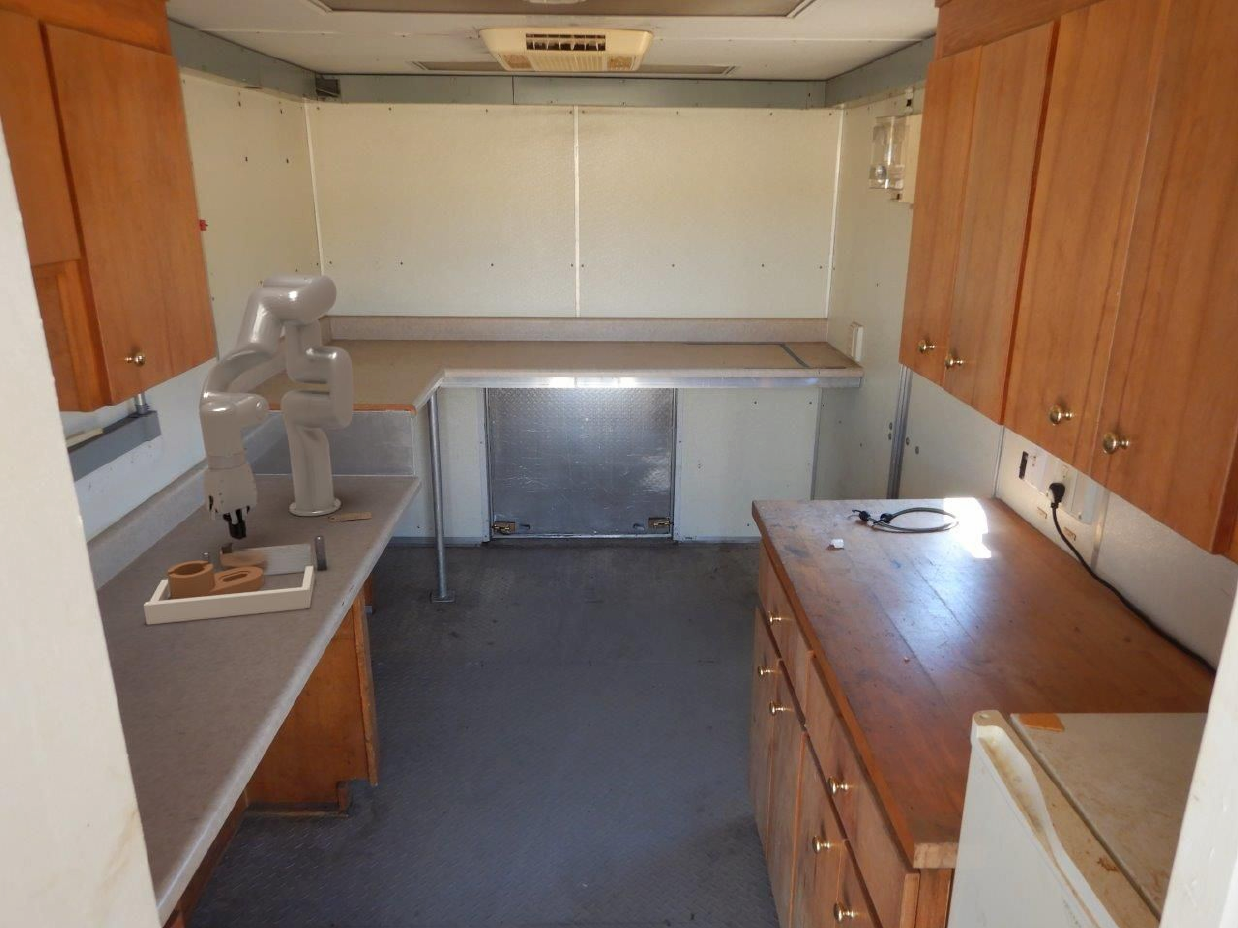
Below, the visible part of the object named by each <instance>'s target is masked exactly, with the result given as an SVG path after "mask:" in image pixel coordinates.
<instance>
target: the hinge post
mask: <svg viewBox="0 0 1238 928" xmlns="http://www.w3.org/2000/svg"><path fill="white" fill-rule="evenodd" d="M313 541H314V547H315V548H314V550H315V557H316V558H315V559H316V568H317V571H320V572H324V571H326V570H327V569H328V564H327V554H326V543H325V536H324V535H320V534H319V535H316V536H314V537H313Z"/></svg>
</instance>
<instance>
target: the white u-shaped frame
mask: <svg viewBox="0 0 1238 928" xmlns="http://www.w3.org/2000/svg"><path fill="white" fill-rule="evenodd" d="M315 579H316V578H315V569H314V565H313V566H308V567H306V569H305V572H304V575H303V580H302V585H301V586H300V587H289V588H288V587H287V588H280V589H268V590H258V591H257V590H256V591H253V592H246V593H236V594H226V595H215V596H205V597H195V598H185V599H174V600H171V599H169V598H171V595H170V589H169V583H168V578H167V579H162V580H160V581H159V582H160V583H159V584H158V585H157V587H156V590H155V591H154V593H153V595H152V597H151V598H150V600H149V601H146V602H145V603H144V604H143V609H144V614H145V620H146V625H157V624H158V625H159V624H167V623H177V622H188V621H197V620H205V619H207V620H208V619H216V618H224V617H235V616H245V615H246V616H247V615H253V614H262V613H274V612H284V611H295V610H301V609H302V610H303V609H310V607H311V604H312V603H311V602H312V597H313V591H314V585H315Z"/></svg>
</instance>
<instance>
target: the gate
mask: <svg viewBox="0 0 1238 928" xmlns="http://www.w3.org/2000/svg"><path fill="white" fill-rule="evenodd" d="M220 547H221V549H220V550H221V551H220V553H219V555H220V563H221V572H223V571H227V570H230V569H234V568H238V567H245V566H253V567H258V568H261V569H262V570H263V575H264V577H265V576H273V575H274V576H275V575H284V574H295V573H305V569H306V567H308V566H313V567H314V565H313V556H312V549H311V543H300V544H290V545H288V544H287V545H278V546H266V547H265V546H264V547H256V548H243V549H235V547H234V542H225V543H224V542H223V543H222V544H221V546H220Z"/></svg>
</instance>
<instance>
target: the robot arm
mask: <svg viewBox="0 0 1238 928" xmlns="http://www.w3.org/2000/svg"><path fill="white" fill-rule="evenodd" d="M336 300H337V288H336V284H335V282H334V281H333V280H332V279H331V278H330V277H329V276H326V275H325V274H324V275H322V274H303V273H299V274H298V273H276V274H272V275H269V276H267V277H265V278H264V280H263V282H262V287H260V288H257V289H254V290H253V291H252V292H251V293H250V295H249V296H248V299H247V301H246V302H247V303H246V307H245V310H244V313H243V317H242V320H241V325H240V329H239V332H238V336H237V339H236V343H235V345H234V347H233V348H231V350H229V351H228V352H226V353H225V354H224V355H223V356H222V357H221V358H220V359H219V360H218V361H217V362H216V363H215V365H213V367H212V368H210V370H209V372H208V374H207V375H206V378H205V379H204V383H203V387H202V390H201V393H200V398H199V404H198V405H199V406H198V408H199V409H198V410H199V413H198V414H199V419H200V426H201V433H202V437H203V445H204V451H205V456H206V463H207V468H206V467H205V469H204V474H203V490H204V491H203V492H204V502H205V508H206V510H207V511H208V512H211V516H210V517H211V520H212V521H225V522H227V524H228V530H229V534H230V537H231V538H233V539H236V540H239V541H240V540H243V539H245V538H247V536H248V535H247V527H246V520H247V519H248V514H249V512H250V510H251V509H253V508H254V507H256V506H257V504H258V503H257V500H258V491H257V486H256V485H257V484H256V481H255V476H254V474H253V470H252V468H251V465H250V463H249V461H248V460H246V458H247V456H246V455H247V454H249V449H248V448H247V447H245V446H244V442H243V441H244V440H243V434H242V432H243V431H247V430H251V429H254V428H258V427H260V426H261V425H263V424H264V423H265V422H266V421H267V420H268V417H269V415H270V405H269V402H268V400H267V399H266V398H265V397H263V396H262V395H260V394H257V393H256V394H255V393H248V392H230V391H228V390H229V389H230V386H231V384H232V383H233V382H234V381H235V380H236V379H237V378H239V377H240V376H241V375H243V374H245V373H247V372H250V371H251V370H254V369H257V368H259V367H261V366H264V365H266V364H268V363H269V362H271V361H273V360H274V359H275V358H276V355H277V351H278V347H279V343H280V339H281V334H282V331H283V327H284V339H285V340H284V341H285V367H286V374H287V377H288V378H289V379H290V381H292V382H294V383H298V384H304V385H305V384H308V385H325V386H327V388H328V389H316V388H314V389H311V388H298V389H292V390H289V391H287V392H286V393H285V394H284V395H283V397H282V398H281V399H280V413H281V416H282V419H283V422H284V425H285V429H286V434H287V439H288V445H289V454H290V465H291V472H292V482H293V490H294V491H293V493H294V502H292V503H291V504H289V505H290V506H289V512H290V513H291V514H293V515H296V516H300V517H318V516H325V515H328V514H332V513H334V512H336V511H338V510H339V509H340V508H341V506H342V505H341V504H342V502H341V500H340V499H338V498H337V497H334V484H333V473H332V465H331V463H332V462H331V457H330V456H331V455H330V444H329V440H328V437H327V435H326V434H325V432H324V431H323V429H336V430H337V429H345V428H347V427H348V426H349V425H350V424H351V422H352V420H353V417H354V416H353V415H354V369H353V367H354V366H353V362H352V359H351V356H350V354H349V352H348V351H347V350H345V349H344V348H343V347H339V346H328V345H327V346H326V345H323V342H322V341H323V339H322V326H321V323H320V321H319V319H320V317H322V316H323V315H325V314H326V313H327V312H329V311H330V310H332V308H333V307H334V305H335V302H336Z"/></svg>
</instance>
